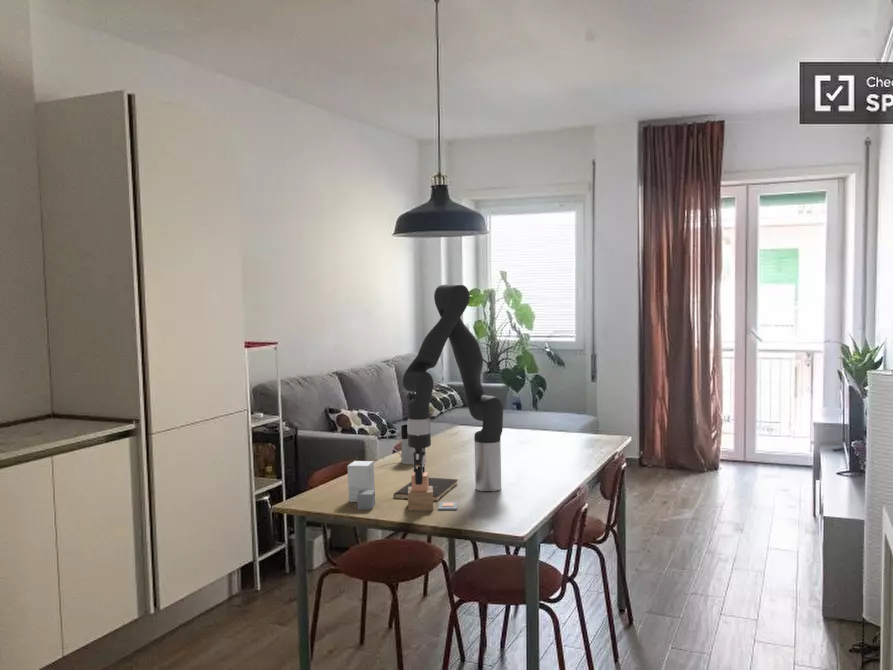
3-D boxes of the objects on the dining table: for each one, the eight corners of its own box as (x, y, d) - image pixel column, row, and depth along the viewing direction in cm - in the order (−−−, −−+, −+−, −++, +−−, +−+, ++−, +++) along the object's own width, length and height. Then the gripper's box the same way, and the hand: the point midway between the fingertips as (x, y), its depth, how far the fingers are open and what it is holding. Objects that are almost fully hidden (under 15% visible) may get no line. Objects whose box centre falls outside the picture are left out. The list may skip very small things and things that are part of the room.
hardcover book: (458, 485, 277) (457, 479, 277) (437, 502, 255) (437, 495, 255) (417, 482, 282) (416, 476, 282) (393, 499, 260) (393, 492, 260)
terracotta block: (413, 487, 251) (413, 472, 251) (428, 487, 251) (428, 472, 251) (411, 491, 246) (411, 476, 246) (427, 491, 246) (426, 476, 246)
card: (439, 503, 252) (439, 500, 252) (457, 503, 252) (457, 500, 252) (438, 510, 245) (438, 507, 244) (456, 510, 244) (456, 507, 244)
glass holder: (420, 463, 311) (420, 427, 310) (386, 464, 311) (385, 428, 310) (422, 459, 319) (421, 423, 318) (388, 459, 320) (387, 424, 319)
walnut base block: (408, 504, 253) (408, 486, 252) (432, 503, 253) (432, 485, 253) (408, 511, 245) (408, 493, 244) (433, 510, 245) (432, 492, 245)
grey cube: (360, 505, 253) (359, 490, 252) (375, 505, 252) (374, 490, 252) (357, 509, 248) (357, 494, 247) (372, 509, 247) (372, 494, 247)
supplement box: (375, 497, 262) (374, 460, 261) (368, 503, 255) (367, 465, 254) (355, 496, 264) (354, 460, 263) (348, 502, 256) (346, 465, 256)
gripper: (409, 427, 255) (411, 475, 256) (405, 436, 241) (406, 486, 241) (432, 427, 254) (433, 475, 255) (428, 435, 240) (429, 486, 241)
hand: (420, 480), depth 248 cm, fingers open, 8 cm apart
